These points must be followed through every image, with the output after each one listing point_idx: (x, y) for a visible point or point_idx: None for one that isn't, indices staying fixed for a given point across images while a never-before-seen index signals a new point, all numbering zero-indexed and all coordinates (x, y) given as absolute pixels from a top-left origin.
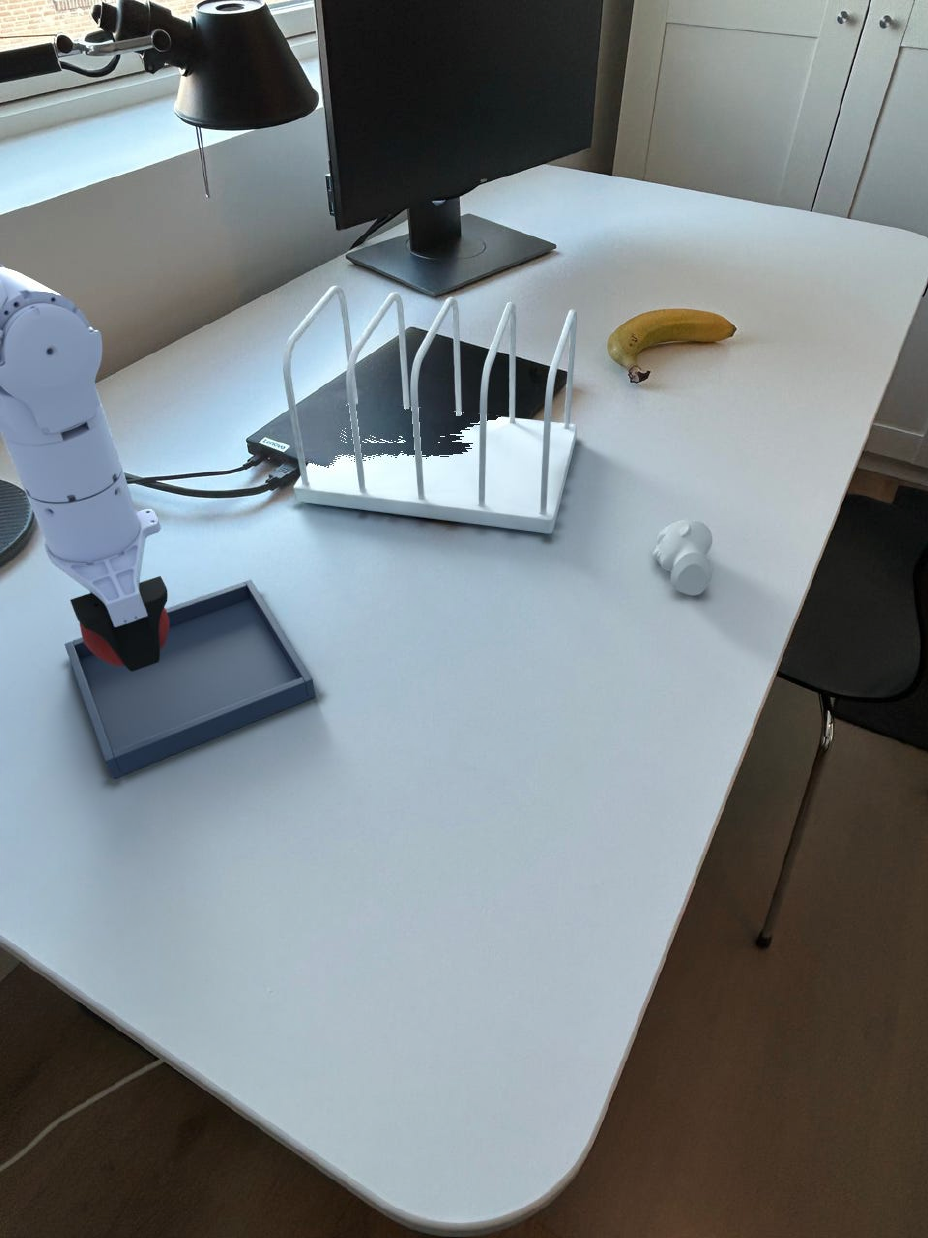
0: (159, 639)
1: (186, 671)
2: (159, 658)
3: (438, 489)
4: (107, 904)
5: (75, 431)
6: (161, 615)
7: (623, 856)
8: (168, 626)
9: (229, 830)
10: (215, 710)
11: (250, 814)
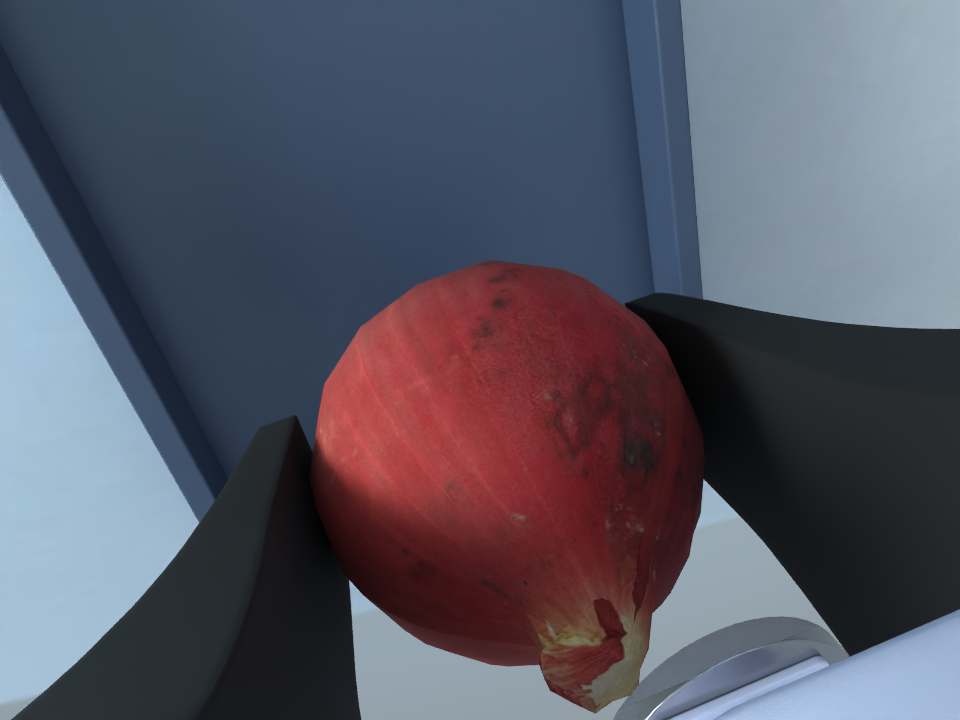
0: (740, 307)
1: (369, 186)
2: (662, 293)
3: None
4: None
5: None
6: (586, 308)
7: None
8: (517, 265)
9: (922, 88)
10: (571, 94)
11: (911, 27)
